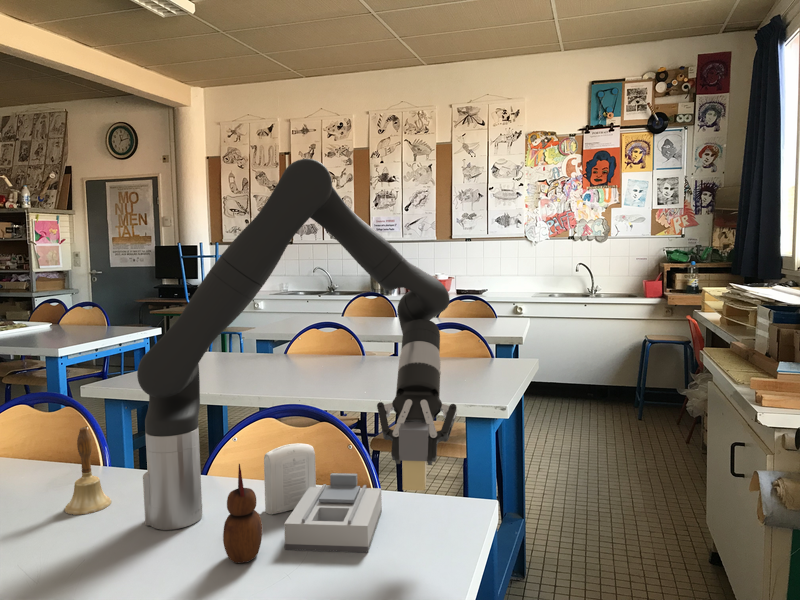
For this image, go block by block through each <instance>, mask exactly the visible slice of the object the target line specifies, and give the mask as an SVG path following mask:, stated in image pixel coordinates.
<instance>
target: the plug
mask: <svg viewBox="0 0 800 600" xmlns="http://www.w3.org/2000/svg"><path fill="white" fill-rule="evenodd" d="M428 441H429V424H426V422H405V423H404V424H403V423H401V425H400V428H399V460H400V462H401V461H402V462H401V463H402V464H401V465H402V467H401V469H402V491H419V492H420V491H421V492H423V491H426V487H427V486H426V485H427V456H428Z"/></svg>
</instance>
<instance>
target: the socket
mask: <svg viewBox="0 0 800 600" xmlns="http://www.w3.org/2000/svg"><path fill="white" fill-rule="evenodd" d="M326 486H327V484H326V483H325V484H324V483H323V484H322V486H316V487H309V488H308V489H307V491H306V492H305V494H304V495H303V497H302V498H301V500H300V501H299V503H298V504H297V506H296V507H295V509H293V510H292V512H291V513H290V515H289V516H288V517H287V519H286V520H285V522H284V523H283V525H284V548H285V549H284V550H285V551H309V552H310V551H312V552H314V551H315V552H319V551H320V552H343V553H367V554H368V553H369V551H370V548H371V545H372V542H373V539H374V536H375V534H376V530H377V527H378V524H379V521H380V518H381V515H382V512H383V510H382V507H383V505H382V504H383V502H382V488H380V487H379V488H377V487H376V488H375V487H367V484H363V485H362V487H360V491H359V493H358V495H357V497H356V500H355V502H354V503H334V502H319V497H320V496H321V494H322V493H323V491H324V489H325V488H326Z"/></svg>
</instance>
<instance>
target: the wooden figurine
mask: <svg viewBox="0 0 800 600" xmlns="http://www.w3.org/2000/svg"><path fill="white" fill-rule="evenodd" d="M237 473H238V480H237V488H235V489H233V490H231V491H230V492H229V493H228V496H227V500H226V508H227V511H228V514H229V515H228V516H227V517H226V519H225V521H224V525H223V534H222V541H223V542H222V543H223V548H224V551H225V553H226V556H227V557H228V559H229V560H230V561H232V562H233V563H236V564H243V563H244V564H245V563H248V562H250V561H252V560H253V559H255V558H256V556H258V554H259V551H260V548H261V544H262V540H263V539H262V538H263V523H262V522H263V521H262V517H261V515H260V514H259V512H257V511H256V510H255V509H256V507H257V496H256V495H257V494H256V493H255V491H254V490H253V489H252V488H250V487H244V483H243V476H242V468H241V464H240V463H238V472H237Z"/></svg>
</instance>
